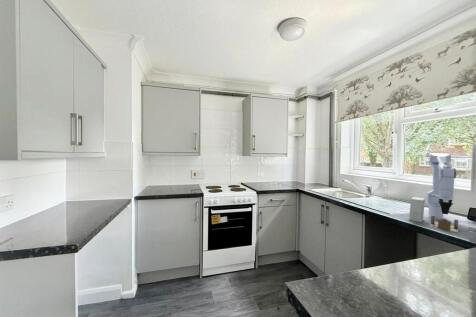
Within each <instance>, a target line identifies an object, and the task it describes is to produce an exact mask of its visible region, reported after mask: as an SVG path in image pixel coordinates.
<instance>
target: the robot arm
mask: <svg viewBox="0 0 476 317" xmlns="http://www.w3.org/2000/svg"><path fill="white" fill-rule="evenodd" d="M451 160H452V155H451V153H437V152H436V153H434V152H433V153H432V152H431V153H430V152H429V156H428V164H429V166H430V167H432V190H430V191H428V192H427V193H426V198H425V201H426V202H425V203H426V204H427V205H428V211H427V212H428V214H427V215H428V217H429V218H431V216H435V220H438V219H444V215H448V214H449V212H450V209H451V207H452V206H453V205H454V203H453V200H454V199H455V198H454V190H455V188H454V187H455V180H456V179H457V178H456V177H457V169H456V168H454V167H453V166H452V164H451Z"/></svg>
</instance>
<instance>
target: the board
mask: <svg viewBox="0 0 476 317" xmlns="http://www.w3.org/2000/svg"><path fill="white" fill-rule="evenodd" d="M430 228H436V229H440V230H442V229H441V228H439V227H438V221H436V220H435V224H431V223H430ZM443 230H445V229H443ZM445 231H446V230H445ZM448 231H451V232H454V233H455V232H456V233H459V228H458V229H454V224H452V223H451V227H450V230H448Z"/></svg>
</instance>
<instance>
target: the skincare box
mask: <svg viewBox="0 0 476 317" xmlns="http://www.w3.org/2000/svg"><path fill="white" fill-rule="evenodd" d="M425 201H426V198H423V197H417V196H413V197H412V198H410V207H409V216H408V218H409V219H408V220H409V221H413V222H418V223H419V222H420V223H422V222H423V220H424V214H425V203H426V202H425Z"/></svg>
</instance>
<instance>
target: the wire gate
mask: <svg viewBox="0 0 476 317" xmlns="http://www.w3.org/2000/svg"><path fill="white" fill-rule="evenodd" d="M435 221H436V219H435V216H431V217H430V225H431V224H435ZM453 225H454V229H458V230H459V220H458V219H454V220H453Z"/></svg>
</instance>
